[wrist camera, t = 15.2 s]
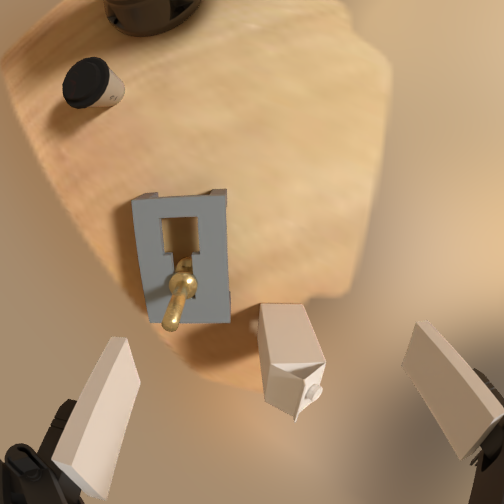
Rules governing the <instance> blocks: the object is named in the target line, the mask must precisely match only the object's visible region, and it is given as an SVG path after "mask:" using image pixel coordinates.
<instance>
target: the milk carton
mask: <svg viewBox="0 0 504 504" xmlns="http://www.w3.org/2000/svg"><path fill="white" fill-rule="evenodd" d="M257 341H258V349H259V357H260V366H261V374H262V382H263V390H264V399H265V402H267V403H269V404H270V405H272V406H274V407H276V408H278V409H280V410H281V411H283V412H285V413H287V414H289V415H291V416H293V418H294V422H296V421H297V418H298V414H299V412H301V411H302V410H303V409H304V408H306V407H307V406H308V405H309V404H310V403H311V402H313V401H315V400H316V399H317V398H318V397H319V396H320V395H321V393H322V390H323V388H322V387H321V386H319V385H320V382H321V379H322V375H323V372H324V368H325V365H326V360H325V358H324V355H323V353H322V350H321V348H320V345H319V343H318V340H317V338H316V335H315V333H314V330H313V328H312V325H311V323H310V321H309V318H308V316H307V313H306V311H305V308H304V306H303V304H268V303H261V304H260V312H259V322H258V333H257Z"/></svg>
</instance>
